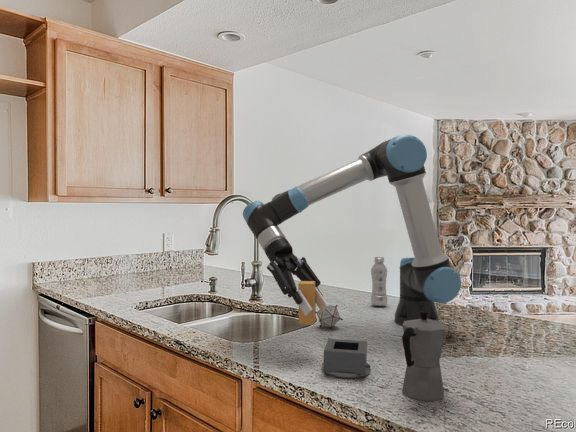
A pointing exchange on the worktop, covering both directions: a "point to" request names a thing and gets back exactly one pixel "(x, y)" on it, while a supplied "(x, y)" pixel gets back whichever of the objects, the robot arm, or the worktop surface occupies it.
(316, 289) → the robot arm
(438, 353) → the coffeepot
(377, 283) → the plastic bottle
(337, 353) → the socket collar
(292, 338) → the worktop surface
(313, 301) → the orange rectangular block
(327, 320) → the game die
